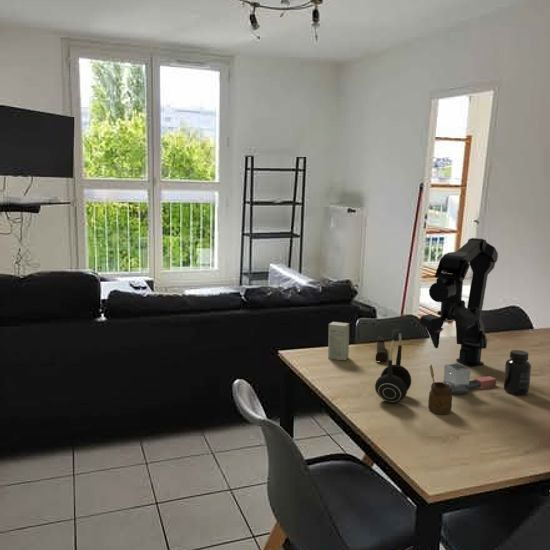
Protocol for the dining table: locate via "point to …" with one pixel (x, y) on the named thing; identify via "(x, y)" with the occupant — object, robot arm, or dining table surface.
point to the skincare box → (338, 341)
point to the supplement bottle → (517, 373)
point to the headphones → (394, 376)
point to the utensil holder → (440, 396)
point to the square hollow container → (457, 374)
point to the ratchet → (473, 385)
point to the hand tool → (381, 350)
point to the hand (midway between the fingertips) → (447, 345)
